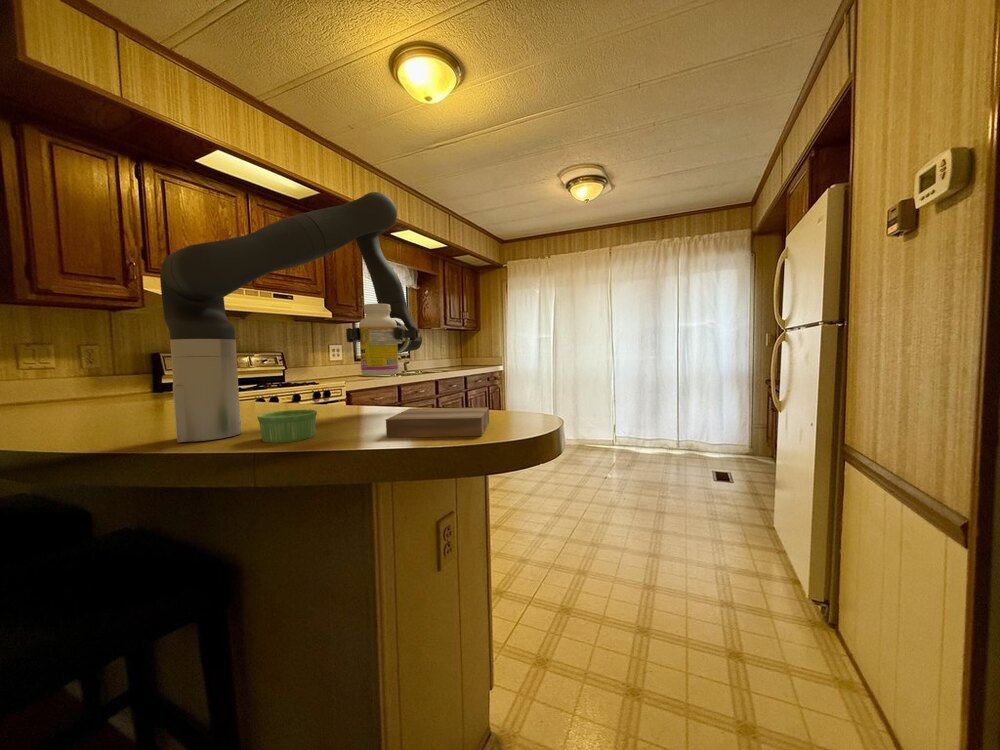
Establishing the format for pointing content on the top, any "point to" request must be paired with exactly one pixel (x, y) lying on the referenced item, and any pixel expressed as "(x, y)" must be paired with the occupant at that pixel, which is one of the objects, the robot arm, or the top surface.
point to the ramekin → (287, 425)
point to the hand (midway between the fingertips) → (376, 333)
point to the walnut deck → (438, 422)
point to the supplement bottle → (378, 341)
